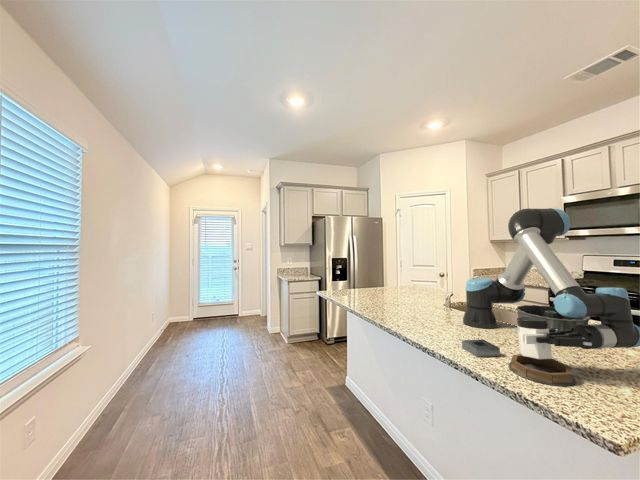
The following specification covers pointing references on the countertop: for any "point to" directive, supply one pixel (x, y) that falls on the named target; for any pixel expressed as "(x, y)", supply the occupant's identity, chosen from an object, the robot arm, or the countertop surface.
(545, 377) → the brown octagonal tray
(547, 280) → the robot arm
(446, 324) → the countertop surface
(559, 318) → the bundt pan
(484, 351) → the square socket
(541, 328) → the jar
